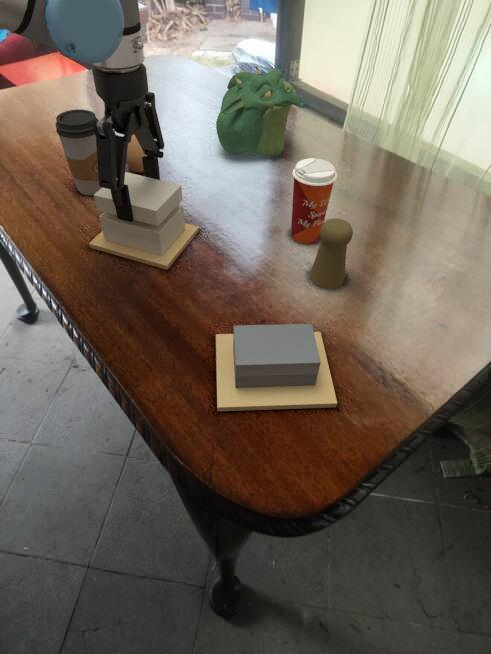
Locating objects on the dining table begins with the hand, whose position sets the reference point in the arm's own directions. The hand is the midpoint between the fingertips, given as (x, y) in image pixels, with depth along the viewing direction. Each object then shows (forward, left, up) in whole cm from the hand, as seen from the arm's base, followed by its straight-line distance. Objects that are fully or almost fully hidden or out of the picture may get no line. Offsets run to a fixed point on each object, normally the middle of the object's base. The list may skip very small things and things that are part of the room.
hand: (140, 205), depth 80 cm
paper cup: (+30, +6, -7) cm, 32 cm away
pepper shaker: (+34, -6, -7) cm, 35 cm away
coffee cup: (-16, +16, -7) cm, 24 cm away
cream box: (0, 0, -7) cm, 7 cm away
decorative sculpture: (+17, +40, -7) cm, 44 cm away
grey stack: (+26, -28, -7) cm, 39 cm away
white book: (0, 0, 0) cm, 0 cm away
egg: (-8, +25, -7) cm, 27 cm away
